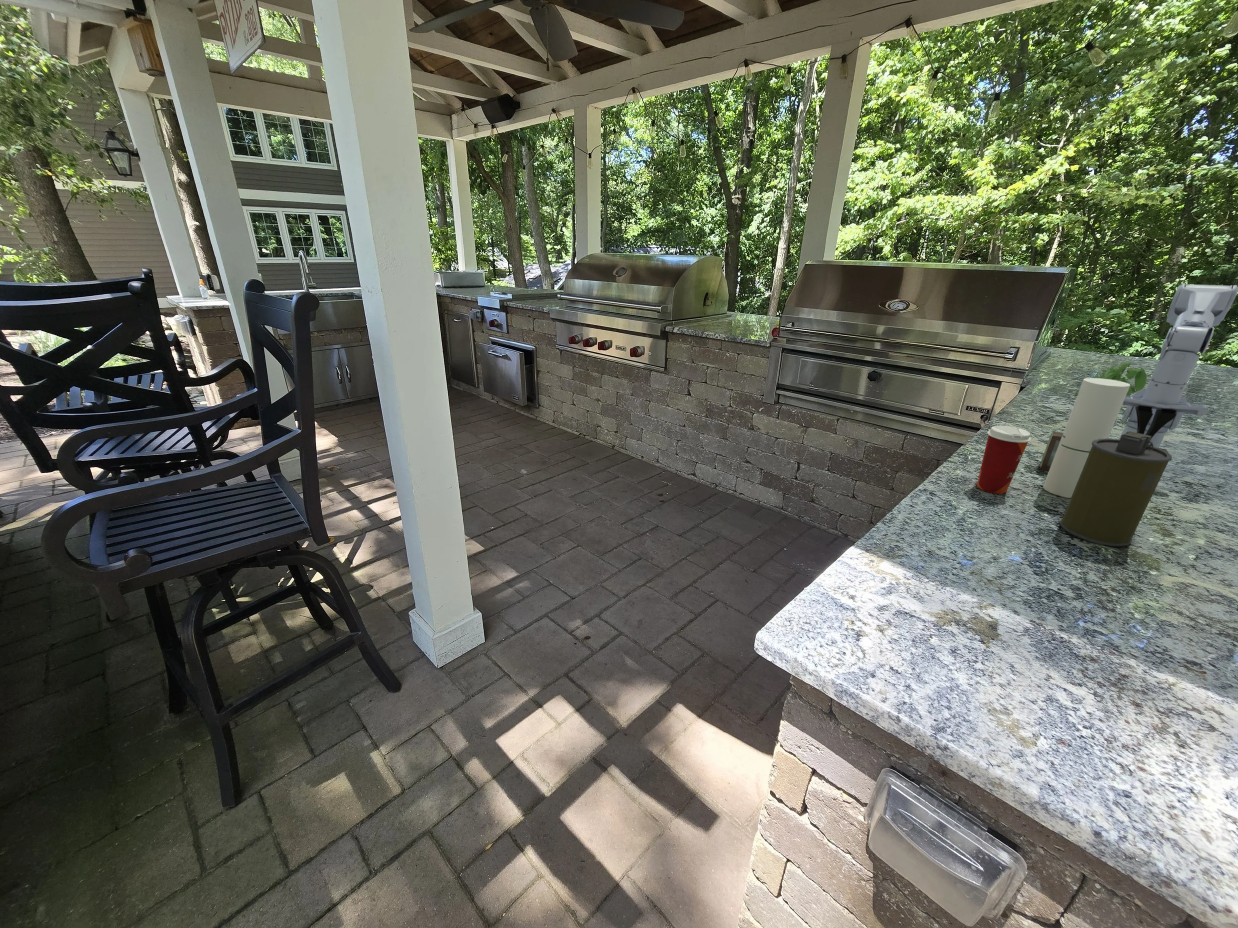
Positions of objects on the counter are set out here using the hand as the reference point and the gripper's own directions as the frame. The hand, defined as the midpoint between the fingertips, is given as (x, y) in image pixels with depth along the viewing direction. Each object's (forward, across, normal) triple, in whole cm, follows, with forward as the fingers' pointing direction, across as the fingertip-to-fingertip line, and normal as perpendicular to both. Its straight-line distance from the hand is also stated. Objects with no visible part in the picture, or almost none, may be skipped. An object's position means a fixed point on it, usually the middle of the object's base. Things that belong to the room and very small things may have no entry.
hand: (1142, 439), depth 116 cm
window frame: (+9, -6, -6) cm, 13 cm away
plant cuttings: (+10, +2, +48) cm, 49 cm away
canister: (+10, -8, -39) cm, 41 cm away
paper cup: (+10, -26, -28) cm, 39 cm away
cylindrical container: (+10, -12, -20) cm, 25 cm away
